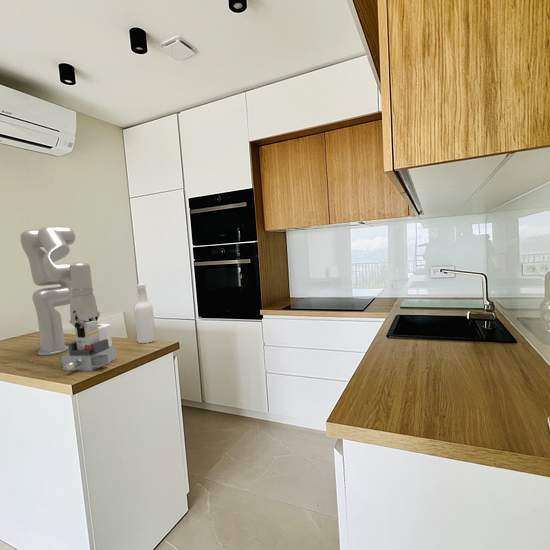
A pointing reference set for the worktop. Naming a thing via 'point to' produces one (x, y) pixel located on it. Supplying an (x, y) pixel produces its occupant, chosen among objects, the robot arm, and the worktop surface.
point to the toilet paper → (105, 333)
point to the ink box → (88, 335)
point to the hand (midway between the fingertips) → (87, 334)
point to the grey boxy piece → (88, 356)
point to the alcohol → (144, 317)
